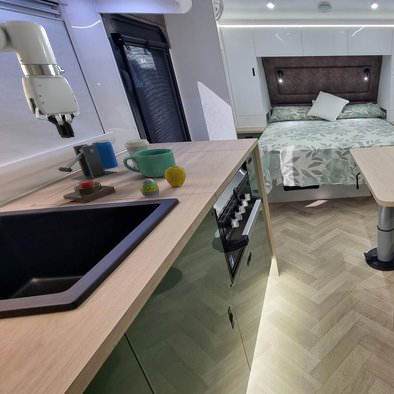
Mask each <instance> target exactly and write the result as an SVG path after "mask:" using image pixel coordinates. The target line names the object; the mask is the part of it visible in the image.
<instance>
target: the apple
mask: <svg viewBox="0 0 394 394" xmlns="http://www.w3.org/2000/svg"><path fill="white" fill-rule="evenodd" d="M164 178H165V180H166V182H167V184H169V185H170V186H171V187H181V186H183V185H184V183H185V181H186V178H187V173H186V171H185V169H184V168H183V167H182V166H179V165H176V166H172V167H169V168H167V169H166V171H165V176H164Z"/></svg>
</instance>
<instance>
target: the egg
mask: <svg viewBox="0 0 394 394" xmlns="http://www.w3.org/2000/svg"><path fill="white" fill-rule="evenodd" d="M139 190H140V193H141V195H142V196H143V197H144V198H147V199H151V198H156V197H157V196H159V193H160V188H159V185H158V184H157V182H156V181H155V180H153V179H152V178H144V179H143V180H142V181H141V183H140V189H139Z"/></svg>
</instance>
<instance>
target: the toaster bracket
mask: <svg viewBox="0 0 394 394" xmlns="http://www.w3.org/2000/svg"><path fill="white" fill-rule="evenodd" d="M84 145H86V146H84ZM80 148H81V149H82V151H83V154H84V156H82V157H81V158H80V159H79V160H78V161H77V162H78V164H79V166H80V169H81V172H82V175H78V176H74V177H71V178H70V180H77V181H84V180H93V181H94V180H96V179H100V178H103V177H106V176H110V175H112V174H117V173H118V171H114V170H113V171H111V170H105V169H103V166H102V163H101V160H100V157H99V154H98V151H97V148H96V145H92V144H89V145H88V144H86V143H83V144H80V145H73V146H72V149H73V150H74V154H75V157H76V156H77V155H78V154H79V153H80V151H79V149H80Z"/></svg>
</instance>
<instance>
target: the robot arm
mask: <svg viewBox="0 0 394 394" xmlns="http://www.w3.org/2000/svg"><path fill="white" fill-rule="evenodd" d="M10 52H14V53H15V55H16V58H17V60H18V63H19V65H20V67H21V69H22V73H23V74H24V77H21V82H22V83H21V84H22V89H23V93H24V97H25V99H26V100H25V101H26V102H27V106H28V107H29V110H30V112H31V113H32V114H33V115H35V118H36V119H37V120H41V121H48V122H50V123H51V124H52V125H54V126H55V128H56V130H57V132H58V135H59V136H60V137H61V139H71V138H75V132H74V129H73V127H72V124H73V120H74V119H75V118H76V117H79V116H81V111H80V105H79V103H78V100H77V98H76V95H75V93H74V91H73V88H72V87H71V85H70V83H69V82H68V80H67V79H66V77H64V76H63V74H65V70H64V68H63V67H60V66H59V64H58V61H57V58H56V56H55V53H54V51H53V48H52V45H51V43H50V40H49V37H48V34H47V32H46V29H45V28H44V27H43V26H42V24H40V23H39V22H34V21H29V20H17V19H15V20H6V21H5V22H0V53H10Z"/></svg>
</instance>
